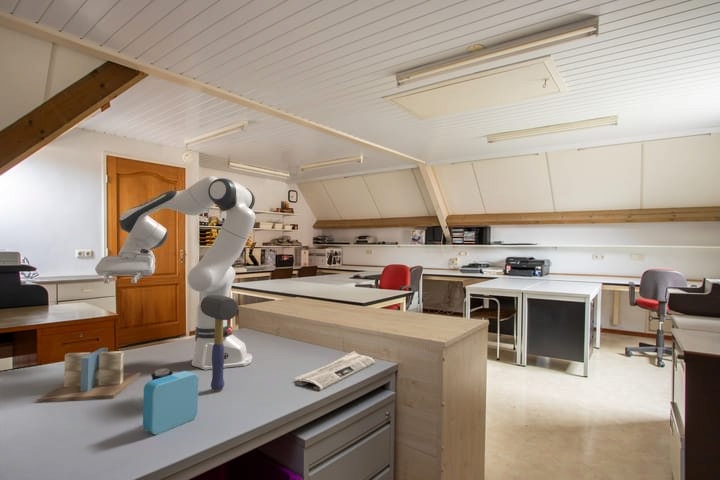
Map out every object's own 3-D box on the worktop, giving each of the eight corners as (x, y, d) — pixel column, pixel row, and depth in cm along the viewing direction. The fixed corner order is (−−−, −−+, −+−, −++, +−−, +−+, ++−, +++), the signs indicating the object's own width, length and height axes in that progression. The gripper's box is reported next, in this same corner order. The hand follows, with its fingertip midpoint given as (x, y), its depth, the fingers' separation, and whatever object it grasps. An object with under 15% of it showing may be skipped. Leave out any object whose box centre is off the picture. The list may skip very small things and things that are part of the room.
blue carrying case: (188, 413, 101) (188, 369, 101) (198, 418, 98) (198, 372, 99) (142, 431, 91) (143, 382, 91) (152, 437, 88) (153, 386, 89)
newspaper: (320, 393, 118) (320, 381, 118) (291, 384, 124) (291, 374, 124) (376, 364, 147) (376, 355, 147) (350, 358, 154) (350, 350, 154)
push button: (176, 407, 105) (177, 371, 105) (155, 412, 101) (156, 375, 101) (168, 400, 110) (168, 366, 110) (148, 405, 106) (148, 370, 106)
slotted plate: (100, 377, 124) (101, 347, 125) (107, 377, 125) (107, 347, 125) (80, 391, 113) (81, 358, 113) (87, 391, 113) (88, 358, 113)
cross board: (140, 375, 130) (141, 343, 130) (113, 398, 110) (114, 361, 111) (76, 378, 127) (77, 345, 127) (37, 402, 107) (38, 364, 107)
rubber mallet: (238, 392, 116) (240, 295, 117) (216, 399, 111) (217, 298, 111) (218, 382, 124) (220, 292, 125) (196, 388, 119) (198, 294, 119)
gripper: (100, 250, 147) (86, 277, 138) (156, 250, 151) (146, 276, 141) (105, 261, 152) (92, 287, 142) (159, 261, 155) (150, 287, 146)
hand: (119, 282), depth 142 cm, fingers open, 8 cm apart
